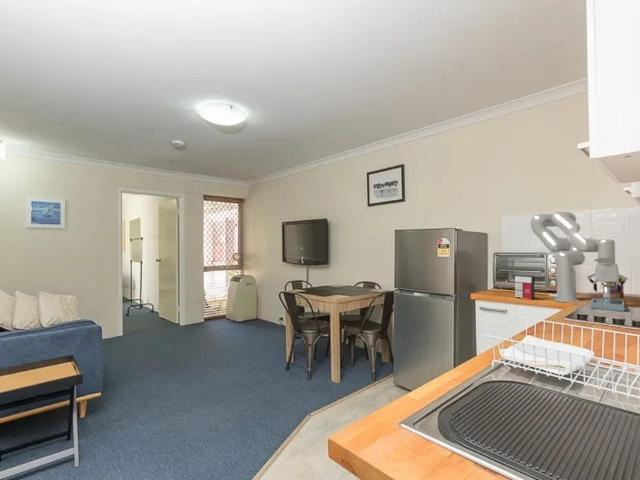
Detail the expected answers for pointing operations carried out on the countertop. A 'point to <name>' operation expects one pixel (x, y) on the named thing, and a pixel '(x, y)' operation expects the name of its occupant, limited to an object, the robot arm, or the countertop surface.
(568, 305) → the countertop surface
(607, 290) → the steel pin
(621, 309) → the tray
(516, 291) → the grey and crimson box
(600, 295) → the socket block
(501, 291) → the countertop surface
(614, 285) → the candy box
